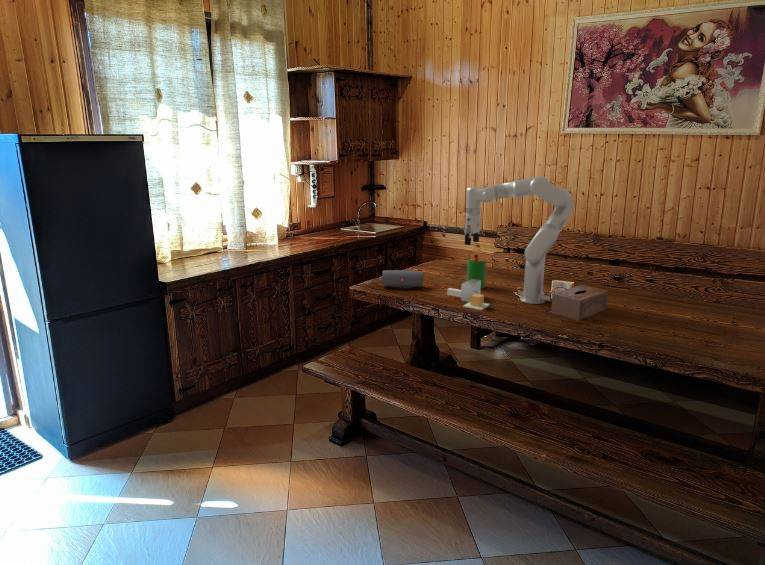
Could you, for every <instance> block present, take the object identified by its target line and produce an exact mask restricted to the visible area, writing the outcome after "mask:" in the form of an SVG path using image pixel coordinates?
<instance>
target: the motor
mask: <svg viewBox="0 0 765 565" xmlns="http://www.w3.org/2000/svg"><path fill="white" fill-rule="evenodd" d="M486 264H487V260H486V259H484V260H482V261H481V260H479V253H477V252H476V253H474V260H471V258H468V259H467V267H466V268H467V269H466V270H467V271H466V282H467V281H469V280H471V279H477V280H481V290H482V289H485V287H486V284H485V283H486V267H487V266H486Z"/></svg>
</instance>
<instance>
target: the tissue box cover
mask: <svg viewBox="0 0 765 565" xmlns="http://www.w3.org/2000/svg"><path fill="white" fill-rule="evenodd" d="M608 297H609V290H607V289H602V288H598V287H594V286H589V285H584V284H580V285H576V286H573V287H571V288H568V289H564V290H561V291H560V290H559V291H558V292H555V293H552V298H551V308H550V314H553V315H556V314H557V316H560V315H561V316H560V317H563V316H565V317H564V318H567V317H568V319H571V318H572V320H574V319H576V320H575V321H580V319H581V320H582V318H583V319H586V318H588V317H591V316H593V315H596V314H598V312H599V313H601V312H604V311H607V306H608ZM603 310H604V311H603ZM600 311H601V312H600ZM595 313H596V314H595ZM590 315H591V316H590ZM585 317H586V318H585Z"/></svg>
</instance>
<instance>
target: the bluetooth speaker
mask: <svg viewBox="0 0 765 565" xmlns="http://www.w3.org/2000/svg"><path fill="white" fill-rule="evenodd" d="M381 276H382V278H381V284H382V286H387V287H388V286H389V287H392V288H394V287H404V288H403V289H412V288H415V287H416V288H417V287H423V285H424V272H423V271H421V270H420V271H419V270H408V269H406V270H404V269H401V270H400V269H393V270H392V269H391V270H382V275H381Z"/></svg>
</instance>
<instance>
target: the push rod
mask: <svg viewBox="0 0 765 565" xmlns="http://www.w3.org/2000/svg"><path fill="white" fill-rule="evenodd" d="M446 294H447V296H450V295H451V296H450V297H455V296H456V298H461V289H457V288H450V287H448V288H447V292H446ZM473 294H475V292H472V295H473Z"/></svg>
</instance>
